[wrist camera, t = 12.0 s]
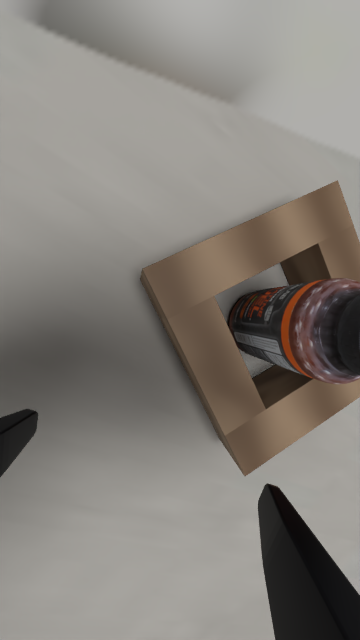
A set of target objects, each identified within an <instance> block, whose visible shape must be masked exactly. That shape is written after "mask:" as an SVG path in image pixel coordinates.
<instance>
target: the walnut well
mask: <svg viewBox="0 0 360 640" xmlns="http://www.w3.org/2000/svg"><path fill="white" fill-rule="evenodd" d="M278 263H281V266H282V268H283V270H284V273H285V275H286V278H287V280H288V283H289V285H295V284H301V283H306V282H311V281H319V280H325V279H333V278H347V279H351V280H355V281H358V282H360V242H359V240H358V237H357V234H356V231H355V228H354V225H353V223H352V220H351V217H350V214H349V211H348V208H347V205H346V203H345V200H344V197H343V194H342V191H341V188H340V185H339V183H338V181H335V182H333V183H331V184H329V185H326V186H324V187H322V188H320V189H318V190H315V191H313V192H311V193H309V194H307V195H304V196H302V197H300V198H298V199H296V200H293V201H291V202H289V203H287V204H284V205H282V206H280V207H278V208H276V209H273V210H271V211H269V212H267V213H265V214H262V215H260V216H258V217H256V218H254V219H251V220H249V221H247V222H245V223H243V224H240V225H238V226H236V227H234V228H231V229H229V230H227V231H225V232H223V233H220V234H218V235H216V236H214V237H212V238H209V239H207V240H205V241H203V242H201V243H198V244H196V245H194V246H192V247H189V248H187V249H185V250H183V251H181V252H178V253H176V254H174V255H172V256H170V257H167V258H165V259H163V260H161V261H159V262H156V263H154V264H152V265H150V266H148V267H145V268H143V269H142V273H141V278H140V280H141V282H142V284H143V286H144V288H145V290H146V292H147V294H148V296H149V298H150V300H151V302H152V304H153V306H154V308H155V310H156V312H157V314H158V316H159V318H160V320H161V322H162V324H163V326H164V328H165V330H166V332H167V334H168V336H169V338H170V340H171V342H172V344H173V346H174V348H175V350H176V352H177V354H178V356H179V358H180V360H181V362H182V364H183V366H184V368H185V370H186V372H187V374H188V376H189V378H190V380H191V382H192V384H193V386H194V388H195V390H196V392H197V394H198V396H199V398H200V400H201V402H202V404H203V406H204V408H205V410H206V412H207V414H208V416H209V418H210V420H211V422H212V424H213V426H214V429H215V431H216V433H217V435H218V437H219V439H220V440H221V442H222V443H223V445H224V446H225V448H226V449H227V451H228V452H229V454H230V455H231V457H232V458H233V460H234V461H235V463H236V464H237V466H238V467H239V468H240V470H241V471H242V473H243V474H244V476H246V475H248V474H249V473H251V472H252V471H253V470H255V469H256V468H258V467H259V466H261V465H262V464H264V463H265V462H266V461H268V460H269V459H271V458H272V457H274V456H275V455H277V454H278V453H279V452H281V451H282V450H284V449H285V448H287V447H288V446H290V445H291V444H292V443H294V442H295V441H297V440H298V439H300V438H301V437H303V436H304V435H305V434H307V433H308V432H310V431H311V430H313V429H314V428H316V427H317V426H318V425H320V424H321V423H323V422H324V421H326V420H327V419H329V418H330V417H331V416H333V415H334V414H336V413H337V412H339V411H340V410H342V409H343V408H344V407H346V406H347V405H349V404H350V403H352V402H353V401H355V400H356V399H357V398H359V397H360V379H359V380H356V381H354V382H351V383H347V384H330V383H325V382H322V381H318V380H316V379H313V378H310V377H307V376H305V375H302V374H299V373H297V372H294V371H292V370H289V369H286V368H284V367H281V366H278V365H274V366H272V367H271V368H269V369H267V370H266V371H264V372H262V373H261V374H259V375H257V376H256V377H254V378H253V379H252V378H251V376H250V374H249V371H248V369H247V367H246V365H245V363H244V360H243V358H242V356H241V354H240V352H239V349H238V347H237V345H236V343H235V341H234V338H233V336H232V334H231V332H230V330H229V327H228V325H227V323H226V321H225V319H224V317H223V314H222V312H221V310H220V308H219V306H218V303H217V301H216V299H215V297H214V296H215V295H217V294H218V293H220V292H222V291H224V290H226V289H228V288H230V287H232V286H234V285H236V284H238V283H240V282H242V281H244V280H246V279H248V278H250V277H252V276H254V275H256V274H258V273H260V272H262V271H264V270H266V269H268V268H270V267H272V266H274V265H276V264H278Z"/></svg>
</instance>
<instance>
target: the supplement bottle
mask: <svg viewBox="0 0 360 640" xmlns="http://www.w3.org/2000/svg"><path fill="white" fill-rule="evenodd" d="M229 328H230V332H231V334H232V336H233V338H234V341H235V343H236V345H237V346H238V347H239V348H240V349H241V350H242V351H244V352H245V353H247V354H250V355H252V356H254V357H257V358H260V359H262V360H265V361H268V362H270V363H273V364H276V365H278V366H281V367H284V368H286V369H289V370H292V371H294V372H297V373H299V374H302V375H305V376H307V377H310V378H313V379H316V380H318V381H322V382H325V383H330V384H347V383H351V382H354V381H356V380H359V379H360V282H358V281H355V280H351V279H347V278H333V279H325V280H319V281H311V282H306V283H301V284H295V285H290V286H283V287H277V288H271V289H265V290H260V291H255V292H252V293H249V294H247V295H245V296H244V297H242V298H241V299H240V300H239V301H238V302H237V303H236V305H235V306H234V308H233V310H232V313H231V316H230V321H229Z"/></svg>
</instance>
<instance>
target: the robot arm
mask: <svg viewBox="0 0 360 640" xmlns="http://www.w3.org/2000/svg"><path fill="white" fill-rule="evenodd" d="M37 420H38V413H37V412H36V411H34V410H31V409H24V410H22V411H19V412H16V413H13V414H10V415H7V416H4V417H1V418H0V477H1V476H2V475H3V473H4V472H5V471H6V470H7V469H8V467H9V466H10V465H11V464H12V462H13V461H14V460H15V458H16V457H17V456H18V455H19V453H20V452H21V451H22V449H23V448H24V447H25V446H26V444H27V443H28V442H29V441H30V439H31V438H32V437H33V435H34V434H35V432H36V429H37ZM258 514H259V526H260V538H261V550H262V560H263V568H264V574H265V580H266V586H267V592H268V599H269V605H270V611H271V617H272V623H273V629H274V635H275V640H360V595H359V594H358V592H357V591H356V590H355V588H354V587H353V586H352V584H351V583H350V582H349V580H348V579H347V578H346V576H345V575H344V574H343V572H342V571H341V570H340V568H339V567H338V566H337V564H336V563H335V562H334V560H333V559H332V558H331V556H330V555H329V554H328V552H327V551H326V550H325V548H324V547H323V546H322V544H321V543H320V542H319V540H318V539H317V538H316V536H315V535H314V534H313V532H312V531H311V530H310V528H309V527H308V526H307V524H306V523H305V522H304V520H303V519H302V518H301V516H300V515H299V514H298V512H297V511H296V510H295V508H294V507H293V506H292V504H291V503H290V502H289V500H288V499H287V498H286V496H285V495H284V494H283V492H282V491H281V490H280V489H279V488H278V487H277V486H274V485H271V484H266V485H265V486H264V489H263V491H262V493H261V496H260V498H259V501H258Z"/></svg>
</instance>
